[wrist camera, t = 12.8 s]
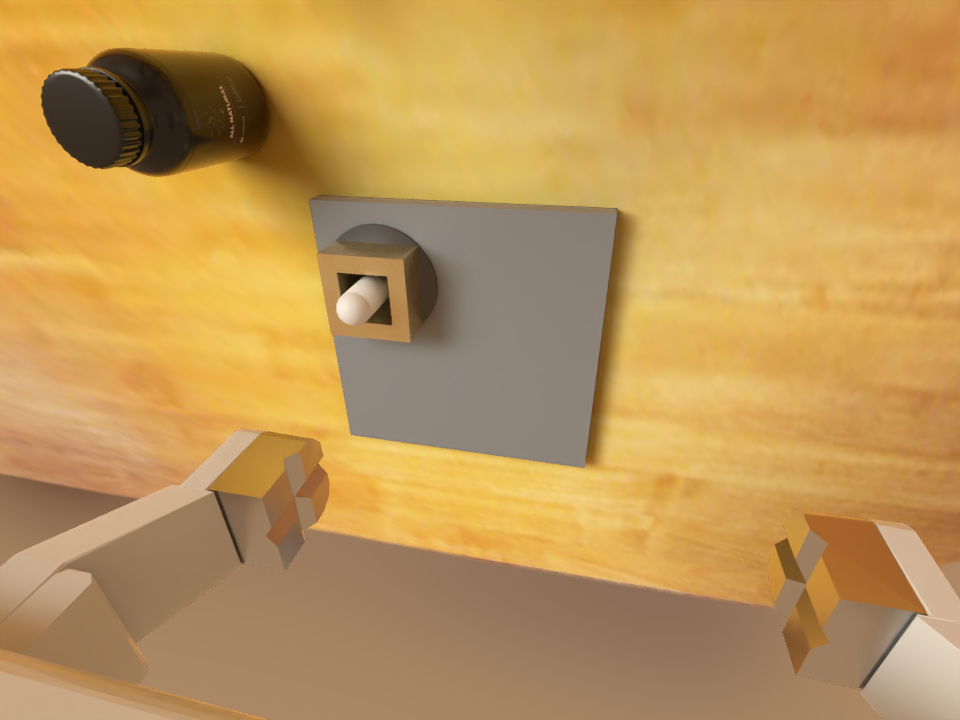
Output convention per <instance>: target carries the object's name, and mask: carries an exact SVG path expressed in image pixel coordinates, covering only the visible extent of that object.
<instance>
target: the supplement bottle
mask: <svg viewBox="0 0 960 720" xmlns="http://www.w3.org/2000/svg"><path fill="white" fill-rule="evenodd" d="M41 99H42V104H41V105H42V108H43V114H44V116H45V118H46V122H47V125H48V126H49V128H50V130H51V133H52V134H53V136H54V137H55V138H56V140H57V142H58V143H59V144H60V145H61V146H62V147H63V149H64V150H65V151H66V152H68V153H69V154H70V155H71V157H73V158H75V159H77V160H78V161H79V162H80V163H84V164H85V165H86V166H91V167H93V168H95V169H98V168H100V169H108V168H113V167H127V168H129V169H130V170H133V171H135V172H137V173H140V174H143V175H147V176H153V177H162V176H169V175H174V174H178V173H182V172H187V171H191V170H195V169H199V168H204V167H208V166H212V165H216V164H221V163H225V162H229V161H233V160H237V159H241V158H244V157H247V156H249V155H251V154H253V153H254V152H255V151H256V150H257V149H258V148H259V147H260V146H261V144H262V143H263V141H264V139H265V136H266V133H267V128H268V112H267V106H266V102H265V99H264V96H263V94H262V92H261V89H260V88H259V86H258V84H257V82H256V81H255V79H254V78H253V77H252V75H251V74H250V73H249V72H248V71H247V70H246V69H245V68H244V67H243V66H242V65H241V64H239V63H238V62H236V61H235V60H233V59H231V58H229V57H227V56H225V55H222V54H217V53H209V52H195V51H176V50H156V49H136V48H113V49H108V50H105V51H103V52H101V53H99V54H97V55H96V56H95V57H94V58H93V59H92V60H91V61H90V62H89V63H88V65H87V66H86V67H83V68H78V69H61V70H57V71H54V72H53V74H50V75H48V78H47V79H46V80H44V85H43V87H42V94H41Z"/></svg>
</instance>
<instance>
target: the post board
mask: <svg viewBox="0 0 960 720" xmlns="http://www.w3.org/2000/svg"><path fill="white" fill-rule="evenodd" d="M309 204H310V209H311V215H312V220H313V226H314V231H315V237H316V243H317V248H318V252H320V251H321V250H323V249H324V248H326V247H328V246H329V245H331V244H332V243H334V242H335V241H348V242H364V243H379V244H395V245H410V246H418V260H419V273H420V287H421V301H422V315H423V326H422V327H421V329H420V330H419V332H418V333H417V334H416V336H415V337H414V339H413V340H412V341H411V343H409V342H399V341H389V340H380V339H370V338H360V337H351V336H341V335H333V337H334V343H335V349H336V354H337V360H338V365H339V371H340V377H341V382H342V388H343V393H344V399H345V404H346V410H347V416H348V421H349V427H350V432H351V435H355V436H362V437H369V438H376V439H383V440H390V441H397V442H404V443H412V444H419V445H426V446H433V447H440V448H447V449H454V450H461V451H468V452H475V453H482V454H489V455H496V456H504V457H511V458H518V459H525V460H532V461H539V462H546V463H553V464H560V465H567V466H574V467H581V468H585V460H586V452H587V445H588V437H589V429H590V421H591V414H592V406H593V398H594V390H595V382H596V375H597V367H598V359H599V351H600V344H601V336H602V328H603V320H604V313H605V305H606V297H607V289H608V282H609V274H610V266H611V258H612V250H613V243H614V235H615V227H616V219H617V208H597V207H574V206H551V205H528V204H506V203H483V202H460V201H437V200H414V199H391V198H368V197H346V196H323V195H318V196H316V197H314V198H312V199H310V200H309ZM357 279H358V282H357V283H355V284H354V285H353V286H352V287H351V288H350V289H349V290H347V291H346V292H345V293H344V294H343V295H342V296H341V297H340V298H339V300H338V302H337V305H336V311H337V314H338V316H339V318H340V319H341V320H342V321H343V322H344V323H346V324H348V325H352V326H358V325H361V324H363V323H365V322H366V321H367V320H368V319H369V318H370V317H371V316H372V315H373V314H374V313H375V312H376V311H377V310H378V308H379V307H380V306H384V307H390V298H389V289H388V280H387V276H375V275H362V274H357Z"/></svg>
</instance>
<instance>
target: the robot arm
mask: <svg viewBox="0 0 960 720" xmlns="http://www.w3.org/2000/svg"><path fill="white" fill-rule="evenodd" d="M322 457H323V452H322V449H321V445H320V442H318V441H316V440H314V439H310V438H304V437H298V436H293V435H287V434H281V433H275V432H269V431H267V432H266V431H260V430H254V429H249V428H243V429H240V430H237V431H235V432H234V433H233V434H232V435H231V436H230V437H229V438H228V439H227V440H226V441H225V442H224V443H223V444H222V445H221V446H220V447H219V448H218V449H217V450H216V451H215V452H214V453H213V454H212V455H211V456H210V457H209V458H208V459H207V460H206V461H205V462H204V463H203V464H202V465H201V466H200V467H198V468H197V469H196V470H195V471H194V472H193V473H192V474H191V475H190V476H189V477H188V478H187V479H186V480H185V481H184V482H183V483H182V484H181V485H180V486H179V485H170V486H168V487H166V488H163V489H161V490H159V491H157V492H154V493H152V494H150V495H148V496H145V497H143V498H141V499H139V500H136V501H134V502H132V503H130V504H127V505H125V506H123V507H121V508H118V509H116V510H114V511H112V512H109V513H107V514H105V515H103V516H100V517H98V518H96V519H94V520H91V521H89V522H87V523H84V524H82V525H80V526H78V527H75V528H73V529H71V530H69V531H66V532H64V533H62V534H60V535H57V536H55V537H53V538H51V539H48V540H46V541H44V542H42V543H39V544H37V545H35V546H33V547H30V548H28V549H26V550H23V551H21V552H19V553H17V554H15V555H14V556H13V557H12V558H10V559H9V560H8V561H7V562H5V563H4V564H3V565H2V566H1V567H0V720H268V719H264V718H260V717H256V716H253V715H249V714H245V713H241V712H238V711H234V710H230V709H226V708H223V707H219V706H215V705H211V704H208V703H204V702H200V701H196V700H192V699H189V698H185V697H181V696H178V695H174V694H170V693H166V692H163V691H159V690H155V689H151V688H147V687H144V686H140V685H139V684H140V683H141V681H142V680H143V679H144V677H145V676H146V674H147V673H148V663H147V661H146V660H145V658H144V657H143V655H142V653H141V652H140V650H139V649H138V647H137V645H136V643H137V642H138V641H140V640H141V639H143V638H144V637H146V636H147V635H148V634H150V633H151V632H153V631H154V630H155V629H157V628H158V627H160V626H161V625H162V624H164V623H165V622H167V621H168V620H169V619H171V618H172V617H174V616H175V615H176V614H178V613H179V612H181V611H182V610H183V609H185V608H186V607H187V606H189V605H190V604H192V603H193V602H194V601H196V600H197V599H198V598H200V597H201V596H203V595H204V594H206V593H207V592H208V591H210V590H211V589H213V588H214V587H215V586H217V585H218V584H219V583H221V582H222V581H224V580H225V579H227V578H228V577H229V576H231V575H232V574H233V573H235V572H236V571H238V570H239V569H241V568H242V565H248V566H254V567H260V568H265V569H271V570H277V571H283V572H286V570H287V569H288V567H289V565H290V563H291V562H292V561H293V559H294V558H295V556H296V554H297V553H298V551H299V550H300V548H301V547H302V545H303V544H304V542H305V540H304V533H303V530H305V529H307V528H309V527H310V526H312V525H314V524H315V523H317V521H318V520H319V518H320V516H321V515H322V513H323V511H324V509H325V506H326V503H327V500H328V496H329V479H328V474H327V473H326V472H325V471H324V469H323V468H322V467H321V466H320V465H319V464H318V463H319V461H320V460H321V459H322ZM783 527H784V530H785V533H786V535H787V538H786V539H784V540H782V541H781V542H779V543H777V544H775V545H774V548H773V551H772V553H771V556H770V559H769V569H768V580H769V587H770V592H771V596H772V599H773V603H774V605H775V606H776V607H777V608H778V609H779V610H780V611H781V612H782V613H783V614H784V615H785V616H786V617H787V618H788V621H787V623H786V626H785V628H784V629H783V636H784V639H785V642H786V645H787V648H788V652H789V655H790V658H791V661H792V664H793V668H794V671H795V674H796V676H801V677H805V678H810V679H814V680H818V681H823V682H827V683H831V684H836V685H840V686H844V687H849V688H853V689H858V690H862V691H861V695H862V696H863V697H864V698H865V699H866V701H867V702H868V703H869V704H870V705H871V707H872V708H873V709H874V710H875V711H876V712H877V714H878V715H879V716H880V717H881V718H882V720H960V599H959V597H958V596H957V594H956V593H955V591H954V590H953V588H952V587H951V585H950V584H949V582H948V581H947V579H946V577H945V576H944V574H943V573H942V571H941V570H940V568H939V567H938V565H937V564H936V562H935V561H934V559H933V558H932V556H931V555H930V553H929V552H928V550H927V549H926V547H925V546H924V544H923V543H922V541H921V540H920V538H919V537H918V535H917V534H916V532H915V531H914V530H913V529H912V528H911V527H909V526H908V525H907V524H904V523H897V522H889V521H882V520H874V519H863V518H857V517H850V516H843V515H835V514H828V513H821V512H814V511H806V510H799V509H794V510H792V511H791V512H790V513H789V514H788V516H787V518H786V520H785V522H784V524H783Z"/></svg>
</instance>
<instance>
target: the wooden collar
mask: <svg viewBox="0 0 960 720" xmlns="http://www.w3.org/2000/svg"><path fill="white" fill-rule="evenodd" d="M317 258H318V263H319V269H320V275H321V280H322V286H323V291H324V297H325V303H326V308H327V314H328V319H329V325H330V330H331V335H341V336H351V337H360V338H370V339H380V340H389V341H399V342H409V343H411V341H412V340H413V339H414V337H415V336H416V334H417V333H418V332H419V330H420V329H421V327H422V326H423V315H422V301H421V287H420V273H419V260H418V246H410V245H395V244H379V243H364V242H348V241H335V242H334V243H332V244H331V245H329V246H328V247H326V248H324V249H323V250H321V251H320V252H318V253H317ZM357 274H362V275H375V276H387V280H388V289H389V298H390V307H384V306H380V307H379V308H378V310H377V311H376V312H375V313H374V314H373V315H372V316H371V317H370V318H369V319H368V320H367V321H366V322H365V323H363V324H361V325H358V326H352V325H348V324H346V323H344V322H343V321H342V320H341V319H340V318H339V316H338V314H337V311H336V305H337V302H338V300H339V298H340V297H341V296H342V295H343V294H344V293H345V292H346V291H347V290H349V289H350V288H351V287H352V286H353V285H354V284H355V283H357V282H358V279H357Z"/></svg>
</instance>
